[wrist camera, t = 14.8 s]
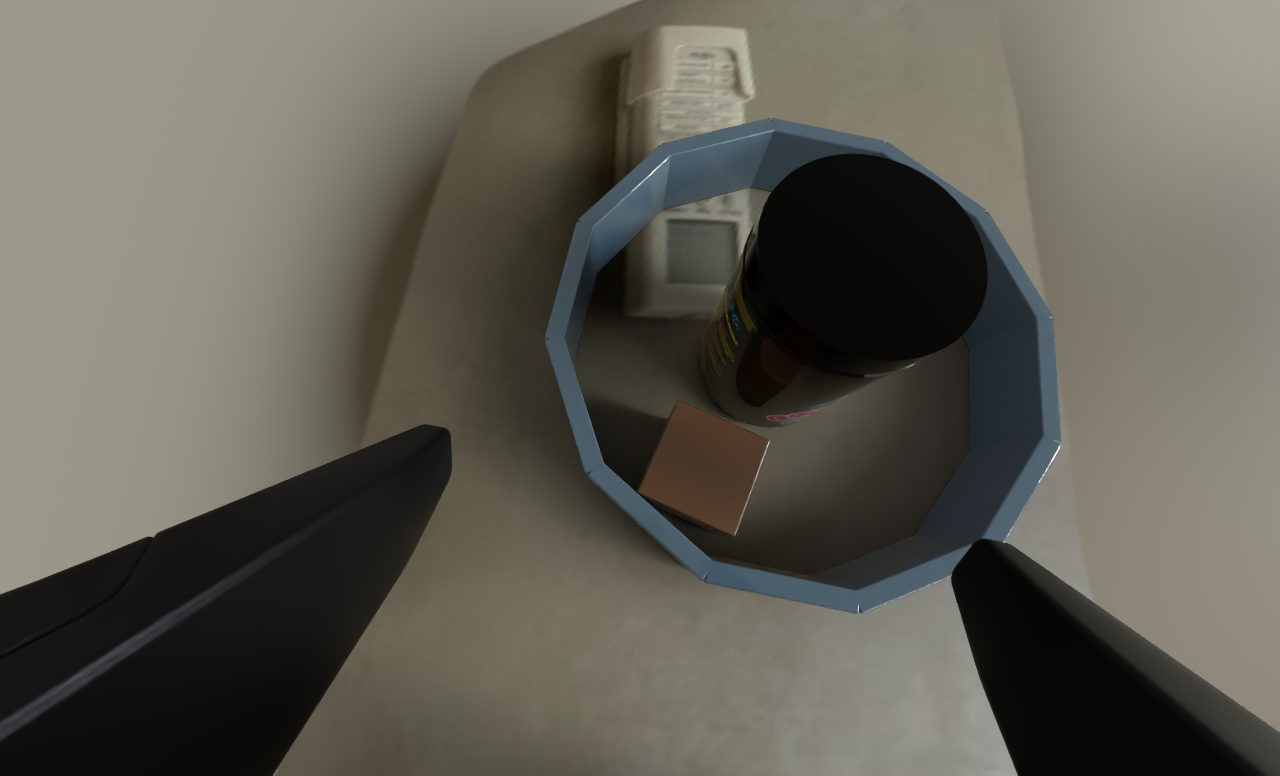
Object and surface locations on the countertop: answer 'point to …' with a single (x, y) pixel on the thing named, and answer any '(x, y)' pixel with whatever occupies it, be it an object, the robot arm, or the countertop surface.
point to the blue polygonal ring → (997, 340)
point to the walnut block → (703, 469)
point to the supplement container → (840, 288)
